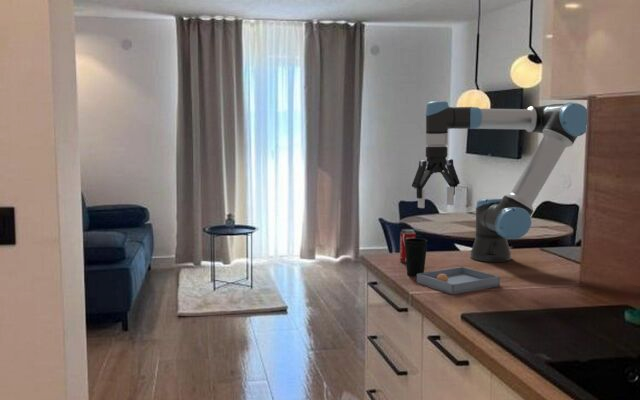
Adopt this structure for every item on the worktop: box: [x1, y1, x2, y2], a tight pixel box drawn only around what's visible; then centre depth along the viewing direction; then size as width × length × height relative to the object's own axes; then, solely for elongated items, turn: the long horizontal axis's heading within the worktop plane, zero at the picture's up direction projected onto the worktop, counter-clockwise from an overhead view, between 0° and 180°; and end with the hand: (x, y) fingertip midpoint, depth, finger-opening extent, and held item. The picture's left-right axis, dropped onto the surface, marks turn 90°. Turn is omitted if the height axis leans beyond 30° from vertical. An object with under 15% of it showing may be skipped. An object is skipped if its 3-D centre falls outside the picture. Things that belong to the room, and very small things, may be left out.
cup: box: [405, 237, 428, 277], centre depth 218 cm, size 8×8×12 cm
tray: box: [416, 266, 501, 295], centre depth 205 cm, size 20×17×3 cm
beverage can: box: [399, 228, 417, 264], centre depth 239 cm, size 6×6×12 cm
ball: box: [437, 274, 448, 282], centre depth 202 cm, size 4×4×4 cm
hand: (435, 206), depth 225 cm, fingers open, 13 cm apart
